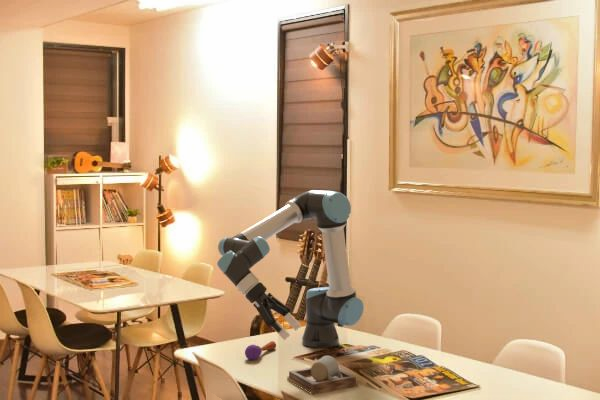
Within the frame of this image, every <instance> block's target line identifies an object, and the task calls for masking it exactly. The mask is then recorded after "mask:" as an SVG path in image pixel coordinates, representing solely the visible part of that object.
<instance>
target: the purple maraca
mask: <svg viewBox="0 0 600 400" xmlns="http://www.w3.org/2000/svg"><path fill="white" fill-rule="evenodd" d="M276 348H277V344H276V342H275V341H273V340H271V341H269V342H268V343H265V344H264V345H263V346H262V347H260V346H259V345H256V344H251V345H248V346H247V347H245V350H244V355H245V357H246V359H248V360H249V361H256V360H259V358H260V356H261V355H262V352H265V351H271V350H275V349H276Z"/></svg>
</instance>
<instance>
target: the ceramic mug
mask: <svg viewBox="0 0 600 400" xmlns="http://www.w3.org/2000/svg"><path fill="white" fill-rule="evenodd" d="M310 368H311V375H312V377H313V378H314V379H315V380H316V381H319V382H320V381H326V380H332V379H335V378H333V377H334V376H336V375H337V376H338V377H339V378H343V376H342V374H341V373H340V372H339V369H340V366H339V363H338V360H337V359H336V358H335V357H333V356H331V355H323V356H321V357H320V359H318V360H316V361H315V362H314V363H313V364H312V365H311V367H310Z"/></svg>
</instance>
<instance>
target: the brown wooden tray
mask: <svg viewBox="0 0 600 400" xmlns="http://www.w3.org/2000/svg"><path fill="white" fill-rule="evenodd" d="M339 372H340V373H341V374H342V376H343V378H339V377H338V376H337V375H336V376H334V377H333V378H335V379H332V380H326V381H320V382H319V381H316V380H315V379H314V378H313V377H312V375H311V367H306V368H301V369H300V368H299V369H295V370H289V372H288V375H289V376H286V377H287V378H286V380H287V381H288V380H289V381H288V382H290V383H292V384H293V383H294V385H295V384H296V386H297V385H298V386H297V387H299V386H300V387H302V388H303V389H302V388H301V389H302V390H304V389H306V390H307V391H309V392H311V393H312V394H311V393H310V394H311V395H315V394H314V393H317V394H321V393H322V392H323V393H329V392H334V391H338V390H344V389H348V388H354V387H359V382H357V377H356V376H355V375H353V374H351V373H349V372H346V371H345V370H344V369H341V368H339ZM300 387H299V388H300ZM306 390H305V391H306ZM307 391H306V392H307ZM309 392H308V393H309Z"/></svg>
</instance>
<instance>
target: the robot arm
mask: <svg viewBox="0 0 600 400" xmlns="http://www.w3.org/2000/svg"><path fill="white" fill-rule="evenodd" d="M351 213H352V205H351V202H350V200H349V198H348V197H347V196H346V195H345V194H343V192H339V191H335V190H320V189H312V190H308V191H307V190H306V191H304V192H303V193H300V194H298V195H296V196H295V197H293V198H290V199H289V200H288V201H286V202H285V204H284V206H283V207H281V208H279V209H278V210H276V211H274V212H273V213H271V214H270V215H268V216H266V217H264V218H263V219H261V220H260V221H258V222H256V223H254V224H252V225H251V226H249V227H247V228H246V229H245V230H242V231H241V232H239V233H237V234H236V235H234V236H233V237H230V236H228V237H226V236H225V237H223V238H221V240H220V241H219V242H218V246H217V249H218V250H217V251H218V252H219V254H220V255H221V257H220V258H219V259H218V260H217V263H216V264H217V266H218V267H217V268H219V270H220V271H221V272H222V273H223V275H225V276H226V277H227V279H228V280H229V281H230V282H231V283H232V284H233V285H234V286H235V287H236V288H237V291H238V292H240V293H241V294H242V295H245V299H246V300H248V302H250V304H253V307H254V308H255V310H257V312H258V314H259V315H260V317H261V318H262V321H263V322H264V324H265V325H266V326H267V328H271V327H272V330H274V331H275V332H276V333H277V334H278V335H279V336H280V338H281V339H283V341H286V340H287V339H288V338H289V337H290V336H291V334H290V333H289V332H288V330H287V329H285V327H284V326H283V325H282V324H281V323H280V322H279V321H278V320H276V318H275V316H274V314H273V312H272V311H274V312H276V313H278V315H279V314H280V316H283V319H284V320H285V321H286V322H287V324H288V325H289V326H290V327H291V328H292V329H293V330H294V331H295V332H296V331H298V329H300V328H301V326H302V325H301V324H300V322H299V321H298V320H297V319H296V318H295V317H294V315H292V314H291V309H290V308H289V307H288V306H287V305H285V304H284V303H283V302H281V301H280V300H278V299H277V298H276V297H275V296H274V295H273V294H272V293H270V292H269V293H267V294H266V292H267V290H268V288H267V287H266V286H265V285H264V284H263V283H262V282H261V281H260V280H259V278H258V277H257V276H256V274H254V272H252V271H251V268H252V267H254V266H256V264H257V263H259V262H260V261H261V260H263V259H264V258H265V257H266V256H267V255H268V254H269V253H270V250H271V249H270V245H269V243H268V242H267V240H268V239H270V238H272V237H273V236H275V235H277V234H279V233H280V232H282V231H284V230H285V229H287V228H288V227H290V226H292V225H293V224H300V223H302V222H303V221H306V220H315V221H316V227H317V229H318V230H320V231H321V236H322V237H321V238H322V244H323V250H324V251H323V252H324V256H325V265H326V273H327V280H328V281H327V282H328V286H324V287H323V286H322V287H314V288H310V289H308V290H307V291H306V297H305V313H306V314H305V315H306V316H305V319H306V320H305V321H306V322H305V323H306V325H305V328H304V330H303V334H302V336H301V344H302V345H303V346H306V347H309V348H316V349H318V348H321V349H323V348H332V347H336V346H338V345H339V343H340V338H339V334H338V332H337V328H336V325H335V324H338V325H340V326H347V327H351V326H352V327H353V326H354V325H356V324H357V323H358V322H360V320H361V317H362V316H363V313H364V303H363V300H362V299H360V297H357V293H356V288H355V287H353V286H352V284H351V277H350V275H351V274H350V269H349V268H350V267H349V262H348V261H349V260H348V253H347V245H346V238H345V237H346V236H345V231H344V230H345V229H344V228H345V226H346V225H347V224H348V222H347V220H348V219H349V218H350V215H351Z"/></svg>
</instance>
